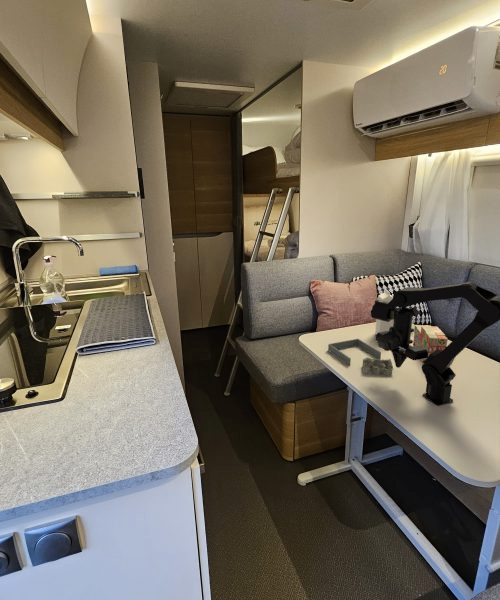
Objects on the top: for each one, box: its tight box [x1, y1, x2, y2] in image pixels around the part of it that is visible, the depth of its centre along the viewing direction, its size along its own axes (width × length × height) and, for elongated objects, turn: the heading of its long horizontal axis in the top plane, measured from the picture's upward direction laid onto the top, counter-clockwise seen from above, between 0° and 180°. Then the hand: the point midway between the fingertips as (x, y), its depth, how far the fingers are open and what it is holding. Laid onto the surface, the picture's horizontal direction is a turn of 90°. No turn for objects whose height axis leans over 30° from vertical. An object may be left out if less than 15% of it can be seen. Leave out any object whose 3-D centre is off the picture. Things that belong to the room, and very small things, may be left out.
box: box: [327, 338, 382, 366], centre depth 143 cm, size 15×15×3 cm
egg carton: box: [362, 357, 394, 376], centre depth 130 cm, size 11×8×4 cm
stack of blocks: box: [412, 324, 448, 361], centre depth 140 cm, size 21×6×12 cm, turn 168°
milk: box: [374, 288, 394, 335], centre depth 159 cm, size 6×6×22 cm
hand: (398, 367), depth 120 cm, fingers closed
